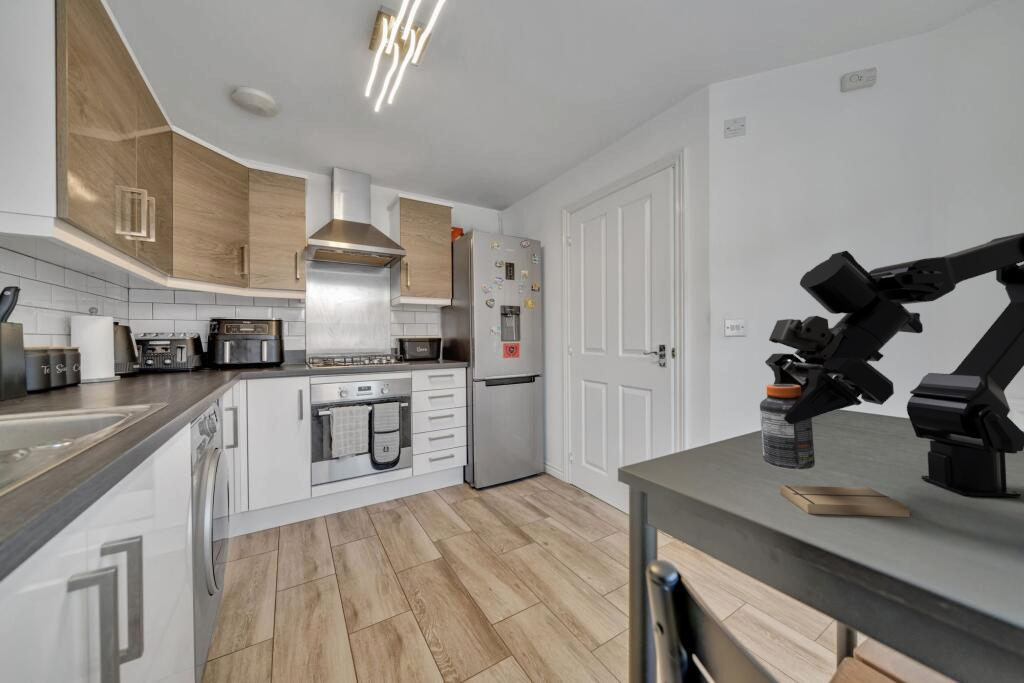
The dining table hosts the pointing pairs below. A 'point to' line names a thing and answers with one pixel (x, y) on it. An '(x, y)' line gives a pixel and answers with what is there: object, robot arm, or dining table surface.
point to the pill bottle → (785, 430)
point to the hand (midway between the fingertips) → (774, 417)
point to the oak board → (844, 501)
